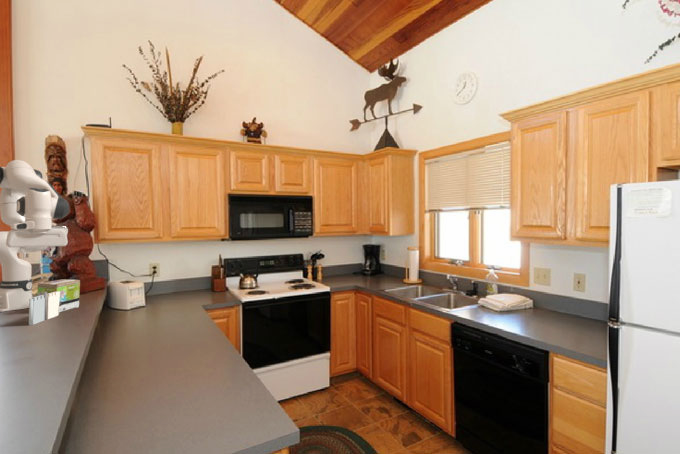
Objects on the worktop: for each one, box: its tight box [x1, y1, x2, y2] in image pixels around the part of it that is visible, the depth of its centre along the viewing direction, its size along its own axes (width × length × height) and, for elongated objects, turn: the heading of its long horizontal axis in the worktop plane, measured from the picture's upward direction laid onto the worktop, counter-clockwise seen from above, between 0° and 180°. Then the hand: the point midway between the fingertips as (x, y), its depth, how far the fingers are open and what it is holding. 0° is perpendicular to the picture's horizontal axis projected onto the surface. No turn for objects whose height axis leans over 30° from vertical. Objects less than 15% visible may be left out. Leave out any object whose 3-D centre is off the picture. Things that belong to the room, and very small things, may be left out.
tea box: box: [36, 278, 81, 313], centre depth 177 cm, size 15×10×15 cm, turn 179°
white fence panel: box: [44, 291, 60, 321], centre depth 162 cm, size 1×9×13 cm, turn 6°
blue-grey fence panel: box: [28, 295, 45, 326], centre depth 153 cm, size 8×1×11 cm, turn 6°
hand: (37, 257), depth 153 cm, fingers open, 6 cm apart
